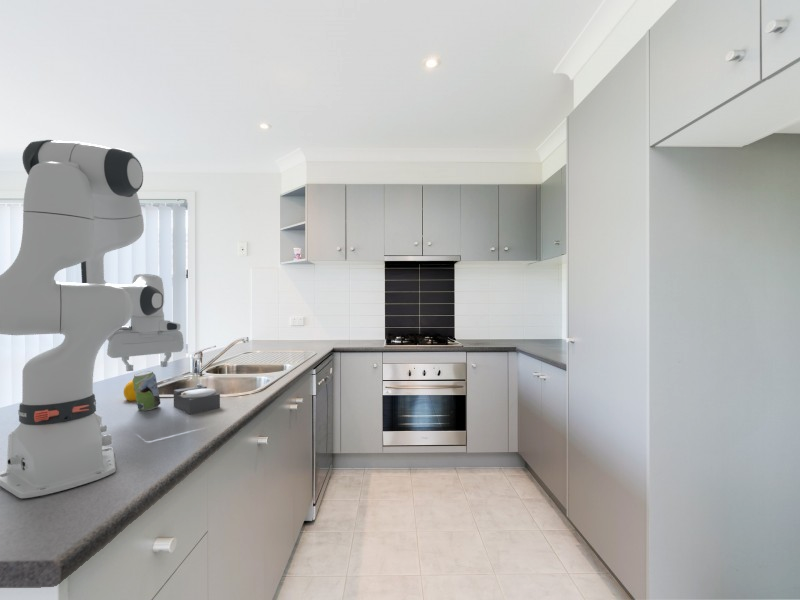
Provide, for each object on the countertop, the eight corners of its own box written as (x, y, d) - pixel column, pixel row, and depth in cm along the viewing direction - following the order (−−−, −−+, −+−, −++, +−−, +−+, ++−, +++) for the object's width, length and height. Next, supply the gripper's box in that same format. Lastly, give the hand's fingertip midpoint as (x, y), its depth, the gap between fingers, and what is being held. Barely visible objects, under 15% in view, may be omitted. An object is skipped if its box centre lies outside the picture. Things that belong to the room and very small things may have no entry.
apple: (121, 404, 124) (122, 382, 124) (125, 399, 131) (125, 378, 131) (150, 401, 128) (150, 379, 129) (152, 396, 135) (152, 375, 135)
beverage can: (164, 408, 120) (164, 371, 120) (138, 414, 113) (138, 374, 113) (154, 405, 123) (154, 369, 123) (129, 411, 117) (129, 372, 117)
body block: (220, 407, 120) (220, 388, 120) (188, 414, 112) (188, 393, 112) (203, 401, 128) (203, 382, 128) (172, 407, 121) (172, 387, 121)
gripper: (109, 327, 109) (109, 375, 109) (185, 324, 124) (185, 365, 124) (104, 326, 113) (104, 372, 113) (178, 323, 128) (178, 363, 128)
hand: (147, 368), depth 119 cm, fingers open, 8 cm apart
